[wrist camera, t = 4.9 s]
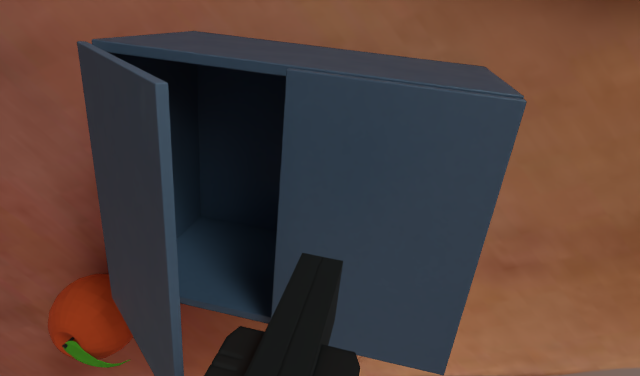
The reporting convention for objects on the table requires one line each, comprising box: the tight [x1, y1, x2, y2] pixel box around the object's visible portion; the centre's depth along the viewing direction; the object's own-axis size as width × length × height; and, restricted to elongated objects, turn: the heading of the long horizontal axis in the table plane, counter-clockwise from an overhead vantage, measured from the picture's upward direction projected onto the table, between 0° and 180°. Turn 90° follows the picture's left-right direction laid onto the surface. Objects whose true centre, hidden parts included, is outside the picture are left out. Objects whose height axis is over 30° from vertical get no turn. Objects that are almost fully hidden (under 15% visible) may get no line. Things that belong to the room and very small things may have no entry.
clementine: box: [48, 274, 133, 368], centre depth 35 cm, size 8×7×7 cm
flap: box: [77, 41, 184, 376], centre depth 18 cm, size 9×14×1 cm
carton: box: [92, 31, 527, 375], centre depth 24 cm, size 19×14×10 cm
